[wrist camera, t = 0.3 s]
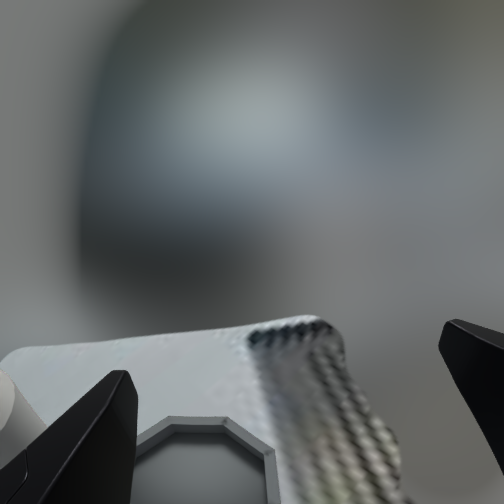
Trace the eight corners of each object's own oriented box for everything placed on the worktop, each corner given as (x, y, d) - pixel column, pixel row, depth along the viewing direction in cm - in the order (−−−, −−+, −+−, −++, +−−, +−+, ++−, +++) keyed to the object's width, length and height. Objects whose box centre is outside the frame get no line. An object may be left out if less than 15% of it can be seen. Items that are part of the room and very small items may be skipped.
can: (23, 517, 10) (-81, 432, 5) (16, 451, 16) (-60, 357, 11) (94, 510, 13) (-5, 426, 8) (77, 440, 19) (8, 340, 14)
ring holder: (284, 552, 11) (285, 549, 10) (115, 539, 11) (103, 534, 10) (270, 426, 22) (270, 414, 21) (137, 425, 21) (130, 412, 21)
